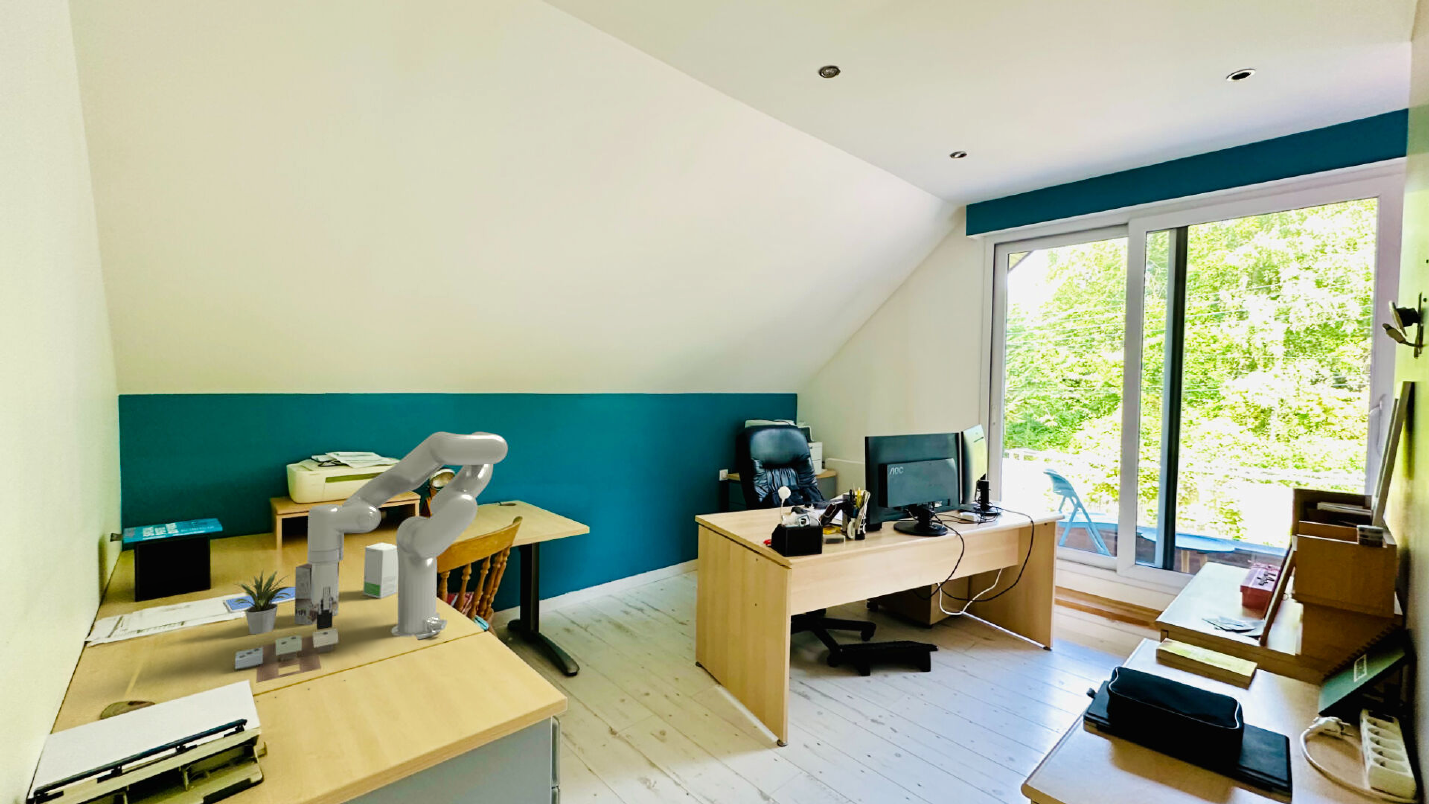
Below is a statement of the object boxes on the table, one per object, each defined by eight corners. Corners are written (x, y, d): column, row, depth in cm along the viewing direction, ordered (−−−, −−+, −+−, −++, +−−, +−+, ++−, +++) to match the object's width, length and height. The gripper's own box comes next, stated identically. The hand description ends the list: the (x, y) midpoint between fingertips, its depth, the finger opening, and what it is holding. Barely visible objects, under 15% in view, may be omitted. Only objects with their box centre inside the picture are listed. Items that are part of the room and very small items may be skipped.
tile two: (300, 650, 149) (300, 634, 149) (301, 658, 145) (301, 641, 145) (275, 655, 146) (275, 638, 146) (275, 663, 142) (275, 646, 142)
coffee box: (313, 626, 167) (313, 568, 166) (293, 623, 168) (294, 566, 168) (339, 614, 176) (340, 559, 175) (321, 611, 177) (321, 557, 176)
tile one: (336, 643, 153) (336, 627, 153) (338, 650, 149) (338, 634, 149) (312, 648, 150) (312, 631, 150) (313, 655, 146) (314, 638, 146)
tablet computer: (230, 615, 174) (230, 610, 174) (223, 603, 183) (223, 599, 183) (308, 599, 188) (309, 595, 188) (298, 589, 197) (298, 585, 197)
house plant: (236, 648, 152) (236, 584, 151) (214, 635, 159) (214, 574, 159) (299, 629, 164) (299, 570, 164) (276, 618, 171) (276, 561, 171)
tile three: (262, 663, 144) (262, 646, 144) (262, 671, 140) (262, 654, 140) (236, 668, 141) (236, 651, 141) (235, 677, 137) (235, 659, 137)
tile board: (315, 640, 158) (315, 635, 158) (321, 673, 140) (321, 668, 140) (258, 651, 151) (258, 646, 151) (256, 687, 133) (256, 682, 133)
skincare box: (362, 595, 191) (363, 546, 191) (381, 588, 197) (381, 541, 197) (381, 599, 188) (381, 550, 188) (399, 592, 194) (400, 545, 194)
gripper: (306, 549, 153) (304, 621, 153) (309, 564, 141) (307, 641, 141) (340, 546, 157) (339, 615, 158) (346, 560, 145) (344, 634, 146)
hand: (324, 627), depth 150 cm, fingers closed
